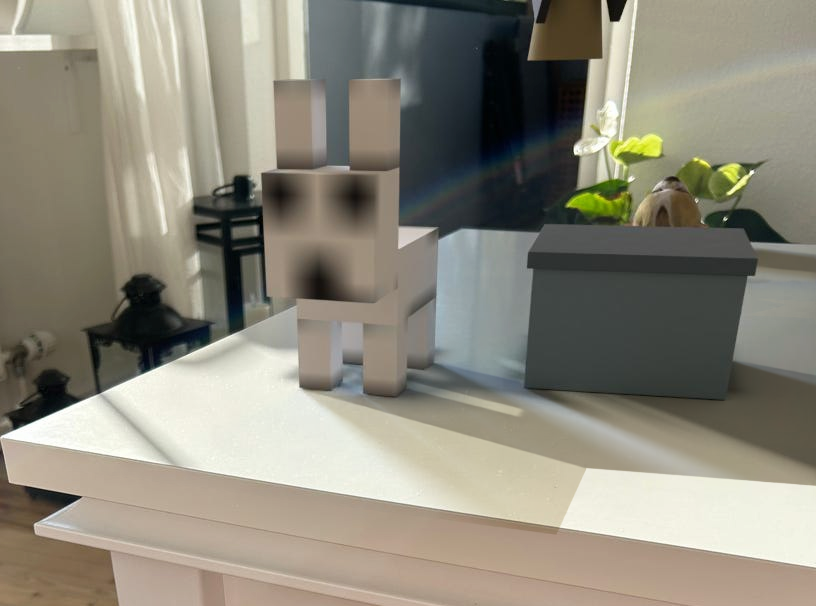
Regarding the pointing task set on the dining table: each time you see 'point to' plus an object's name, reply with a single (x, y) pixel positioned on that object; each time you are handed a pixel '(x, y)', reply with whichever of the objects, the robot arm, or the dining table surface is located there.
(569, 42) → the cork
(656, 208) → the ceramic sculpture
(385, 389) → the blocky rabbit figurine
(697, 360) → the container
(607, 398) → the dining table surface
